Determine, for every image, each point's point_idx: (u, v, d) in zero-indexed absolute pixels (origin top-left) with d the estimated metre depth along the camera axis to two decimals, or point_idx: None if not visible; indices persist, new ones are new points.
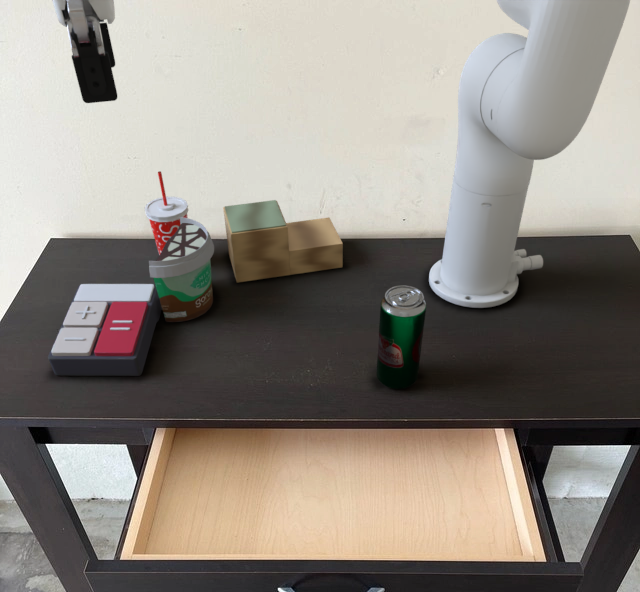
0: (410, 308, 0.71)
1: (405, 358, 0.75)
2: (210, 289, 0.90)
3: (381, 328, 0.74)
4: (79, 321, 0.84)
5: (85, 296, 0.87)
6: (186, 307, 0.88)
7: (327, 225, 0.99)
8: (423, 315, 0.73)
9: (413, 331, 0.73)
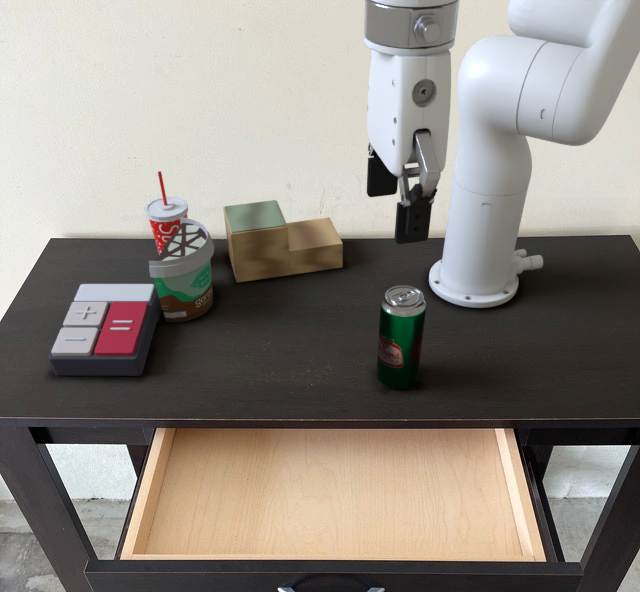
0: (410, 308, 0.71)
1: (405, 358, 0.75)
2: (210, 289, 0.90)
3: (381, 328, 0.74)
4: (79, 321, 0.84)
5: (86, 296, 0.87)
6: (186, 307, 0.88)
7: (327, 225, 0.99)
8: (423, 315, 0.73)
9: (413, 331, 0.73)
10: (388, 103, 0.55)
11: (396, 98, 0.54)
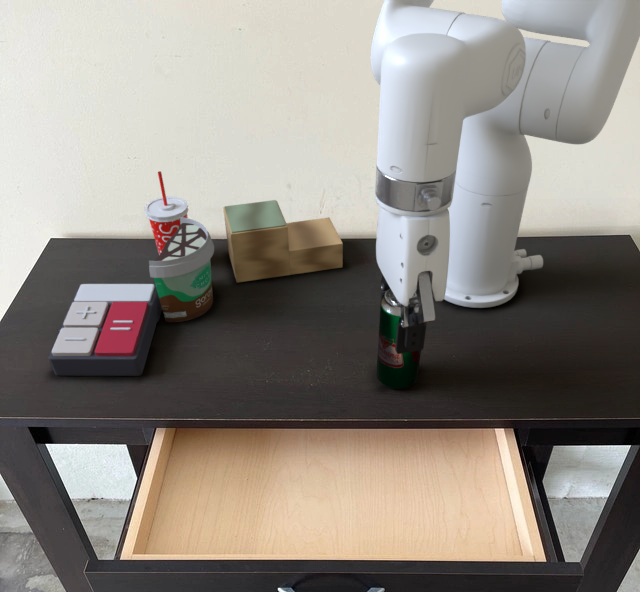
0: (410, 308, 0.71)
1: (405, 358, 0.75)
2: (210, 289, 0.90)
3: (381, 328, 0.74)
4: (79, 321, 0.84)
5: (86, 296, 0.87)
6: (186, 307, 0.88)
7: (327, 225, 0.99)
8: None
9: None
10: (396, 249, 0.65)
11: (403, 248, 0.63)
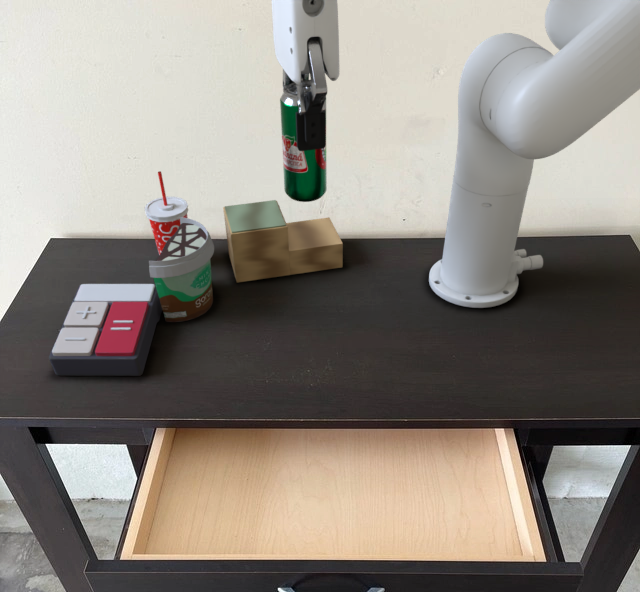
0: None
1: (308, 161, 0.74)
2: (210, 289, 0.90)
3: (282, 127, 0.73)
4: (80, 321, 0.84)
5: (86, 296, 0.87)
6: (186, 307, 0.88)
7: (327, 225, 0.99)
8: None
9: None
10: (284, 15, 0.63)
11: (289, 8, 0.62)
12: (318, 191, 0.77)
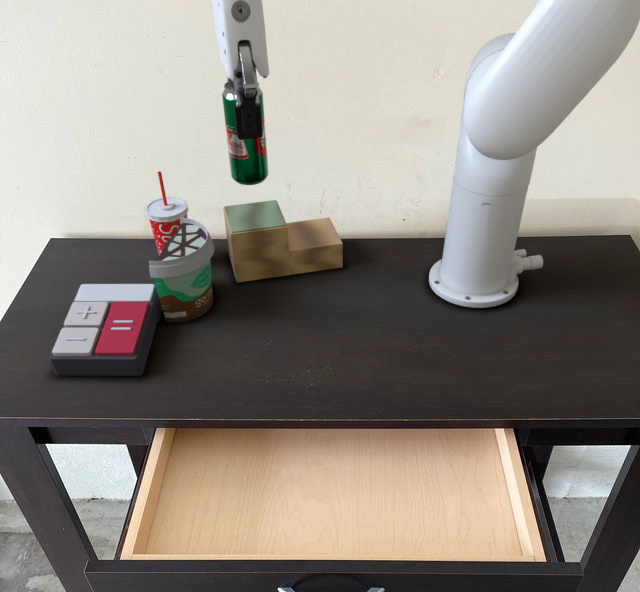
0: None
1: (248, 148, 0.84)
2: (210, 289, 0.90)
3: (225, 118, 0.83)
4: (80, 321, 0.84)
5: (86, 296, 0.87)
6: (186, 307, 0.88)
7: (327, 225, 0.99)
8: None
9: None
10: (218, 21, 0.73)
11: (221, 15, 0.72)
12: (259, 176, 0.87)
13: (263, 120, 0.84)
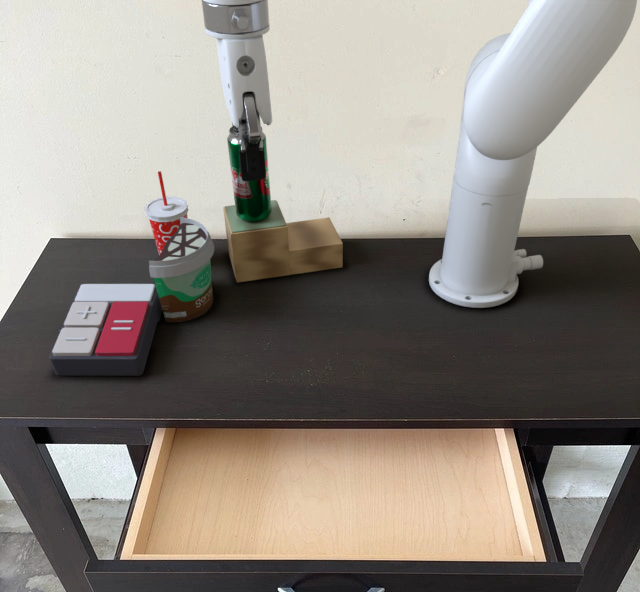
0: None
1: (252, 188, 0.88)
2: (210, 289, 0.90)
3: (230, 160, 0.87)
4: (80, 321, 0.84)
5: (86, 296, 0.87)
6: (186, 307, 0.88)
7: (327, 225, 0.99)
8: (263, 145, 0.85)
9: None
10: (224, 74, 0.77)
11: (227, 69, 0.76)
12: (263, 213, 0.91)
13: (266, 162, 0.88)
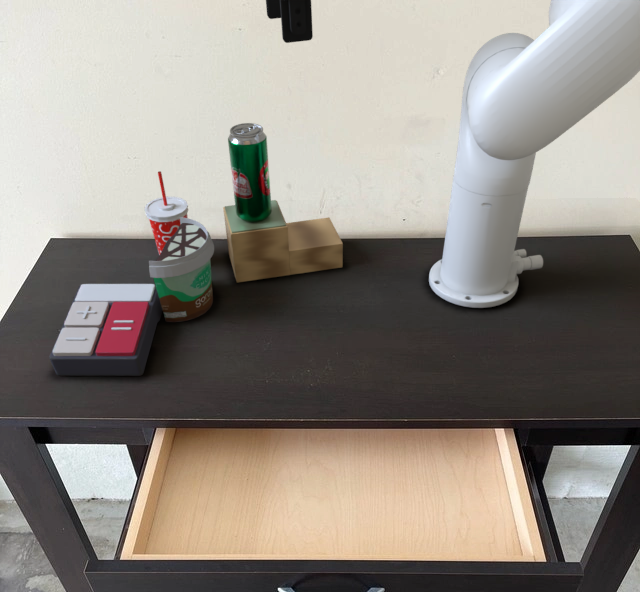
0: (249, 136, 0.84)
1: (253, 189, 0.88)
2: (210, 289, 0.90)
3: (230, 160, 0.87)
4: (80, 321, 0.84)
5: (86, 296, 0.87)
6: (186, 307, 0.88)
7: (327, 225, 0.99)
8: (263, 146, 0.85)
9: (255, 160, 0.86)
10: None
11: None
12: (263, 213, 0.91)
13: (267, 162, 0.88)
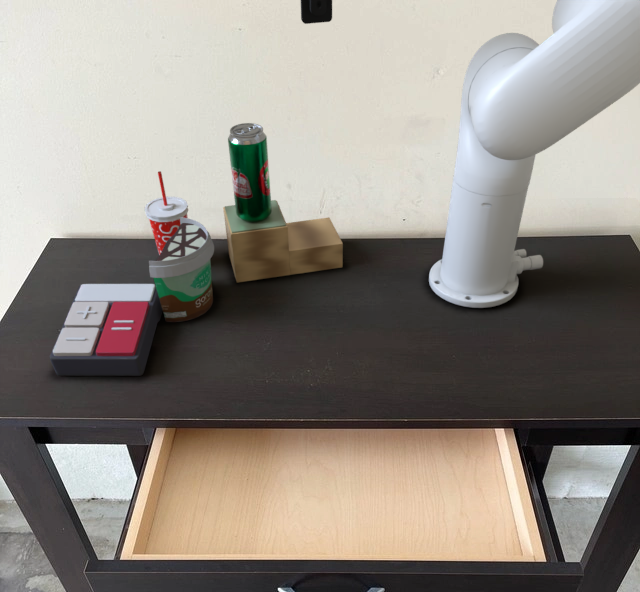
0: (249, 136, 0.84)
1: (253, 189, 0.88)
2: (210, 289, 0.90)
3: (230, 160, 0.87)
4: (80, 321, 0.84)
5: (86, 296, 0.87)
6: (186, 307, 0.88)
7: (327, 225, 0.99)
8: (263, 146, 0.85)
9: (255, 160, 0.86)
10: None
11: None
12: (263, 213, 0.91)
13: (267, 162, 0.88)
